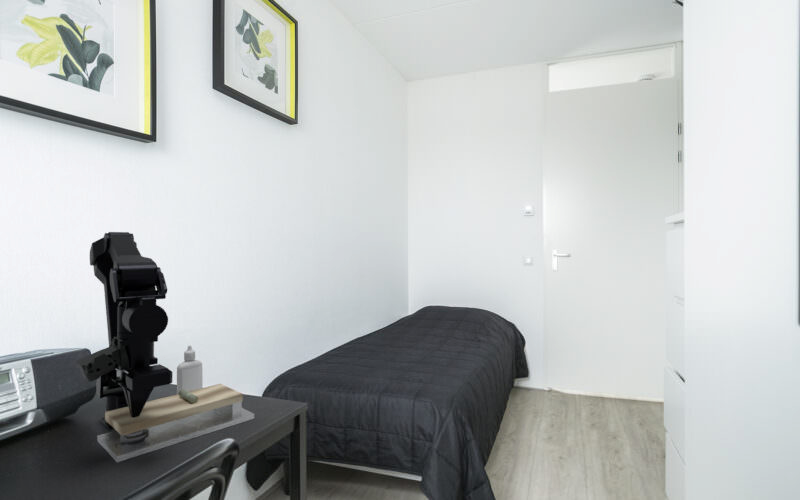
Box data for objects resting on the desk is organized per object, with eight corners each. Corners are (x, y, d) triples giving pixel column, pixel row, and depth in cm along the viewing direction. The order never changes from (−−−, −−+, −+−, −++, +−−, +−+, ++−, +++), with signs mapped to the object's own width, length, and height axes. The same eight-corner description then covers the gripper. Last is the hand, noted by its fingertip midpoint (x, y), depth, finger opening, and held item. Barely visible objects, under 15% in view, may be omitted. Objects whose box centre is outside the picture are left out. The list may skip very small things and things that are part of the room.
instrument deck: (105, 420, 81) (104, 404, 81) (220, 390, 97) (220, 377, 97) (121, 435, 74) (121, 418, 74) (242, 400, 90) (242, 387, 90)
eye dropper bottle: (202, 396, 105) (202, 346, 105) (176, 399, 103) (176, 349, 103) (202, 390, 109) (202, 343, 109) (177, 394, 107) (177, 345, 107)
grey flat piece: (97, 441, 81) (97, 420, 81) (227, 404, 99) (227, 388, 99) (116, 462, 73) (116, 439, 73) (254, 418, 91) (254, 400, 91)
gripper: (69, 329, 79) (68, 415, 79) (97, 345, 67) (96, 447, 67) (137, 322, 87) (137, 400, 87) (174, 335, 75) (173, 426, 75)
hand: (135, 416), depth 79 cm, fingers closed, pressing on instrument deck
